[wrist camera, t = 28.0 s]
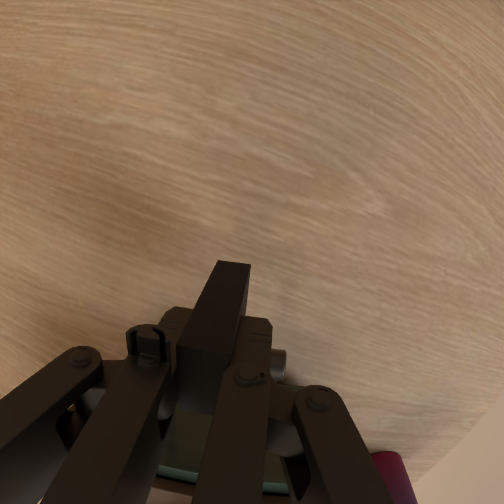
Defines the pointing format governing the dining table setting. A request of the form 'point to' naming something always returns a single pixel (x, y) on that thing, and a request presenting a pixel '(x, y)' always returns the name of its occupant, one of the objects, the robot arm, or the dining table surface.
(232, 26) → the dining table surface
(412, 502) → the cup
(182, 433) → the drawer
